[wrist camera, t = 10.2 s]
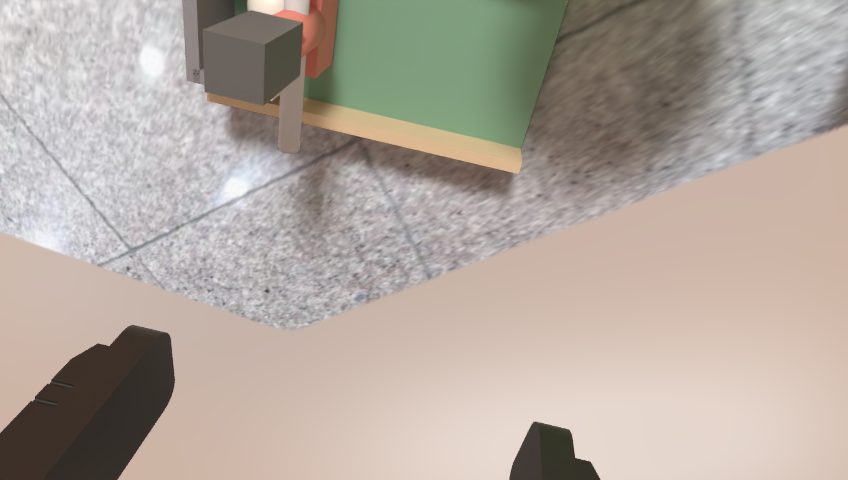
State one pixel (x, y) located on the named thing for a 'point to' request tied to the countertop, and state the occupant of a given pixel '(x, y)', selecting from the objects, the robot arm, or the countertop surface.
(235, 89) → the striker
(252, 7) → the ball
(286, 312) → the countertop surface
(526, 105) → the pitch
